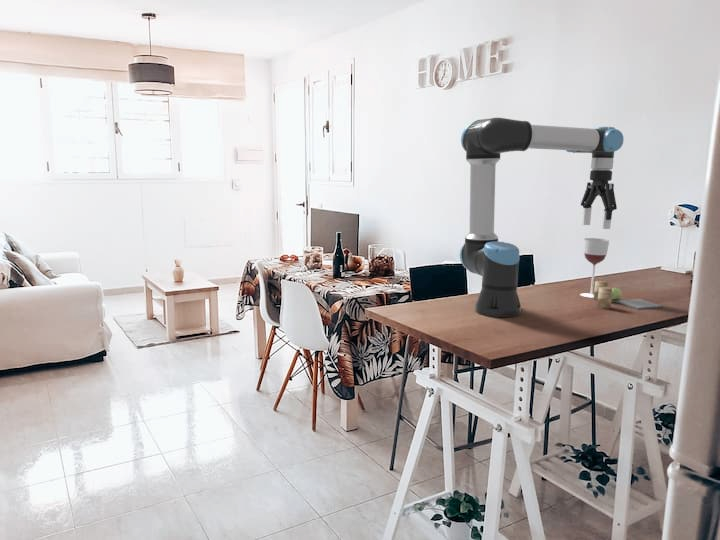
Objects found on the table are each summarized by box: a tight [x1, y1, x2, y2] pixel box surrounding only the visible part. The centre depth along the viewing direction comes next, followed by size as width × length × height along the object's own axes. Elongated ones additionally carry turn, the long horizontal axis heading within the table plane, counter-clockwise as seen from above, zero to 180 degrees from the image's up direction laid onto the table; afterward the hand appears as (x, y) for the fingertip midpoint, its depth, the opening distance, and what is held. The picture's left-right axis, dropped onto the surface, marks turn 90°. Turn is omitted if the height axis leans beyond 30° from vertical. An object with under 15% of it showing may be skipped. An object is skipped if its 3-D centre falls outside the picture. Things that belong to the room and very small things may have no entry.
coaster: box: [614, 298, 663, 310], centre depth 206 cm, size 11×11×1 cm
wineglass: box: [579, 237, 610, 299], centre depth 218 cm, size 9×10×22 cm
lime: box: [611, 287, 623, 301], centre depth 213 cm, size 5×5×5 cm
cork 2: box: [596, 287, 613, 310], centre depth 201 cm, size 4×4×7 cm
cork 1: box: [593, 280, 609, 302], centre depth 212 cm, size 4×4×7 cm
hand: (595, 226), depth 213 cm, fingers open, 13 cm apart
